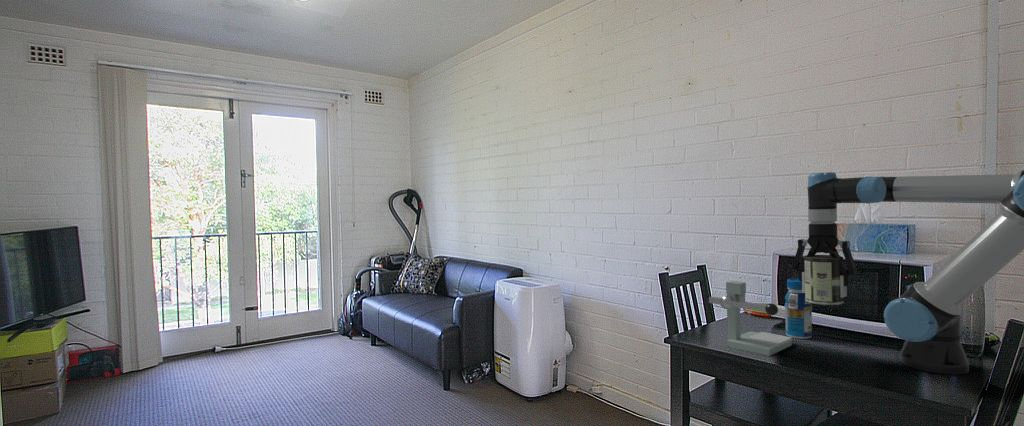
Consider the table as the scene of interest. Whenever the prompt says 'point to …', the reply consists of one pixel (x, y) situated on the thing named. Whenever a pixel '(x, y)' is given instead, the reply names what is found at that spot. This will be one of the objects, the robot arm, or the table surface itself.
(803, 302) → the beverage bottle
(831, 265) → the coffee can
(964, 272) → the robot arm
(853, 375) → the table surface
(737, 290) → the stand
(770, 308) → the lever
